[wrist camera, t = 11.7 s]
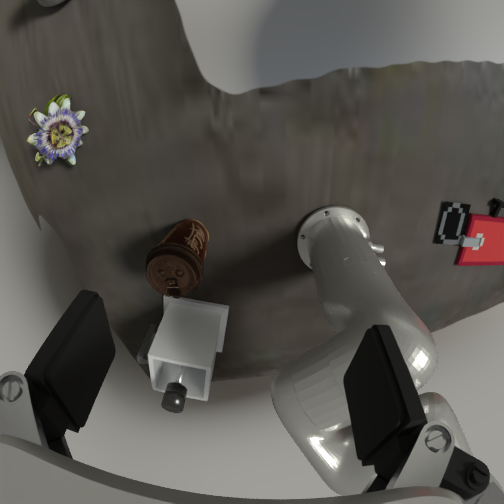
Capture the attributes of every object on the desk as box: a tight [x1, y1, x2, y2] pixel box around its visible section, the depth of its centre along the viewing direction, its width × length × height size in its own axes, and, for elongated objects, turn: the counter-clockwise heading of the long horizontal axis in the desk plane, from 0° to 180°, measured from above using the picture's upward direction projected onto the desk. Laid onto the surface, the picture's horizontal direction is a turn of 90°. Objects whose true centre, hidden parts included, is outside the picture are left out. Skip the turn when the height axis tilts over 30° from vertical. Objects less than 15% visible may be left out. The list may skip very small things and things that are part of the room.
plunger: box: [161, 365, 187, 413], centre depth 50 cm, size 8×8×20 cm
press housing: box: [137, 294, 229, 401], centre depth 53 cm, size 15×13×15 cm
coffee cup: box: [146, 219, 209, 299], centre depth 45 cm, size 9×8×13 cm
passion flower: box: [27, 93, 89, 167], centre depth 38 cm, size 11×11×12 cm
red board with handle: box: [436, 198, 504, 266], centre depth 46 cm, size 30×3×15 cm
